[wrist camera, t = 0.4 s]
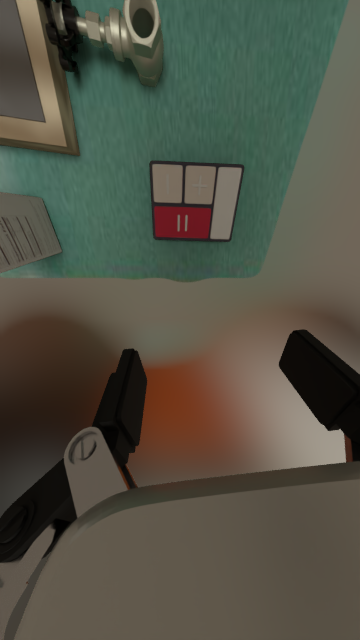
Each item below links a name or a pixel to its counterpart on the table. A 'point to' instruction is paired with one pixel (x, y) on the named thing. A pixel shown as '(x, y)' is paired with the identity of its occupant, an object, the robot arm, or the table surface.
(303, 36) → the table surface
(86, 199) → the table surface
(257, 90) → the table surface
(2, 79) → the tapered tan tray
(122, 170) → the table surface
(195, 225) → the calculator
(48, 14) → the valve
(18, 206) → the supplement box
